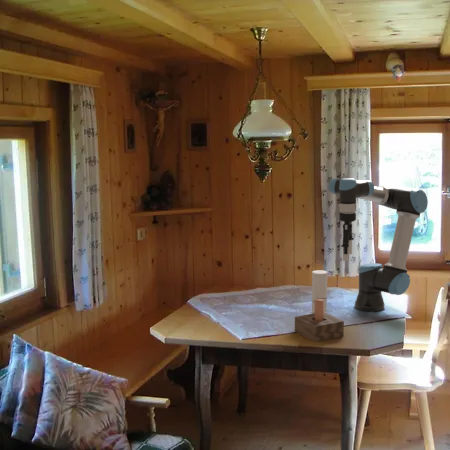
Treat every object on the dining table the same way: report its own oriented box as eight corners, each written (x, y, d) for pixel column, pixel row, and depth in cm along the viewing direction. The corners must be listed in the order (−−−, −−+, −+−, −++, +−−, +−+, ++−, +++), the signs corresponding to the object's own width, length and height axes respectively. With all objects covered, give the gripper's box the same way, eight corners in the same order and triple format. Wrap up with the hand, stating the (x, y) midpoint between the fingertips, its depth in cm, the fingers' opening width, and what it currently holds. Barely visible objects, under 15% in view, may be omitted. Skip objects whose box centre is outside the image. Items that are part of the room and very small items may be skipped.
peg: (319, 331, 296) (320, 298, 293) (324, 334, 292) (325, 300, 289) (312, 333, 294) (313, 299, 291) (317, 335, 290) (318, 301, 288)
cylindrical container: (326, 324, 306) (327, 274, 301) (311, 323, 307) (311, 273, 303) (326, 319, 312) (327, 270, 308) (312, 319, 314) (312, 269, 310)
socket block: (322, 325, 304) (323, 311, 302) (343, 336, 289) (343, 321, 288) (294, 331, 296) (294, 316, 295) (314, 341, 282) (314, 326, 281)
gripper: (342, 207, 304) (342, 250, 308) (336, 216, 281) (336, 263, 284) (358, 207, 302) (357, 251, 306) (353, 217, 278) (353, 264, 282)
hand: (347, 257), depth 295 cm, fingers open, 13 cm apart
